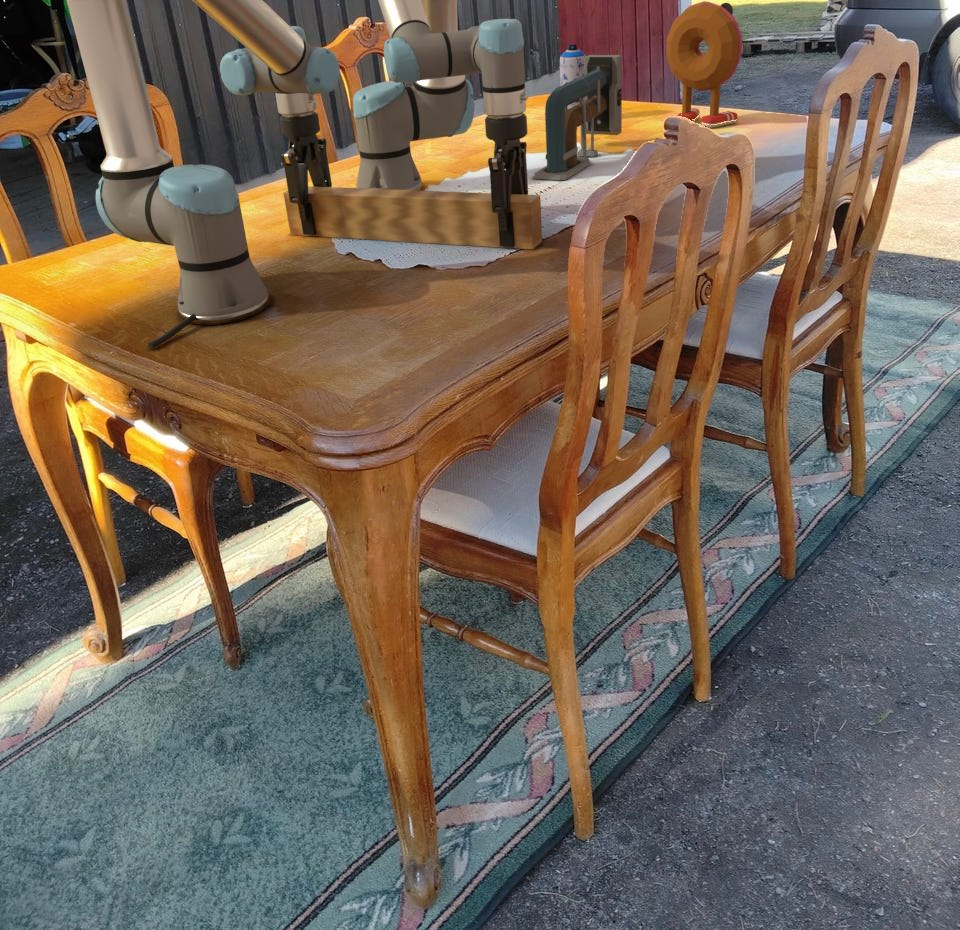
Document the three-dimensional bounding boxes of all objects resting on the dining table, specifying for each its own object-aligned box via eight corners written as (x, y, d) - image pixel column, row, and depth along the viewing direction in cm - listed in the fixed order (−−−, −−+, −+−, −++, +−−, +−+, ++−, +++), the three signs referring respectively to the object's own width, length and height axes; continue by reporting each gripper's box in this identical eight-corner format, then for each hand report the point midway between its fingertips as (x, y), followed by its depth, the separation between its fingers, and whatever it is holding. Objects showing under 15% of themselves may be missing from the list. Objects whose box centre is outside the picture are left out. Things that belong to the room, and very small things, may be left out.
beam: (290, 234, 201) (283, 192, 196) (303, 227, 205) (296, 185, 201) (533, 249, 181) (530, 202, 177) (542, 240, 185) (540, 194, 181)
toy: (748, 122, 257) (756, -2, 242) (728, 130, 251) (735, 3, 236) (679, 116, 271) (683, -2, 255) (659, 123, 264) (661, 3, 249)
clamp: (565, 180, 221) (562, 81, 210) (530, 178, 225) (526, 81, 214) (621, 144, 247) (621, 55, 236) (589, 143, 251) (588, 55, 240)
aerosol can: (559, 122, 275) (557, 47, 265) (562, 117, 282) (559, 42, 272) (587, 121, 274) (585, 45, 263) (589, 115, 280) (587, 41, 270)
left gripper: (289, 123, 181) (309, 244, 192) (338, 103, 195) (354, 217, 207) (255, 123, 183) (278, 242, 195) (306, 103, 198) (324, 216, 209)
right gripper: (506, 126, 165) (514, 257, 176) (542, 104, 179) (547, 227, 191) (466, 125, 167) (476, 255, 179) (504, 104, 181) (511, 225, 193)
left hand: (317, 229), depth 201 cm, fingers closed on beam, 5 cm apart
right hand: (512, 240), depth 185 cm, fingers closed on beam, 5 cm apart
